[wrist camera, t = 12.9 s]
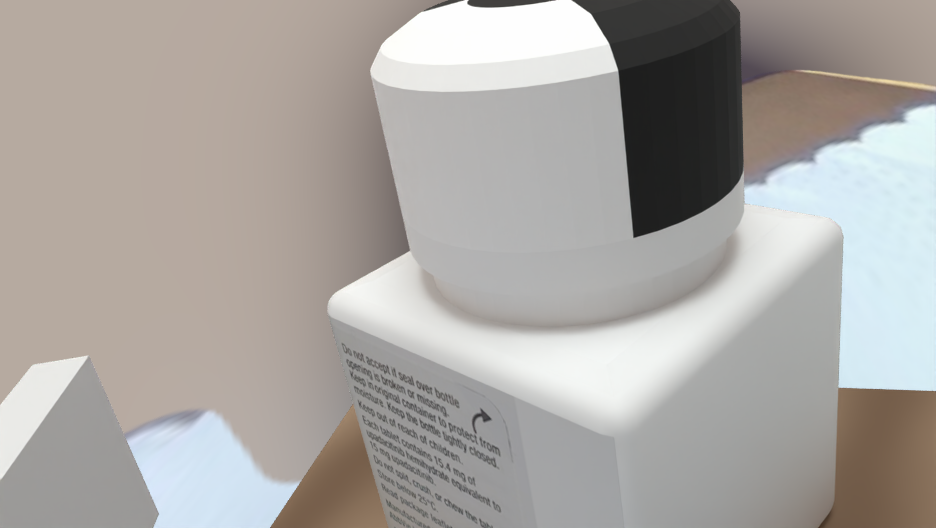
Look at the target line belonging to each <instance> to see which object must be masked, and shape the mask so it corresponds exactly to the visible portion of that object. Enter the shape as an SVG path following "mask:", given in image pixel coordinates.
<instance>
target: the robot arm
mask: <svg viewBox="0 0 936 528" xmlns="http://www.w3.org/2000/svg"><path fill="white" fill-rule="evenodd" d="M158 515H159V513H158V511H157V508H156V506H155V504H154V502H153V499H152V497H151V495H150V492H149V490H148V488H147V486H146V483H145V481H144V479H143V477H142V474H141V472H140V470H139V468H138V465H137V463H136V461H135V458H134V456H133V454H132V452H131V449H130V447H129V445H128V443H127V440H126V438H125V436H124V434H123V431H122V429H121V427H120V425H119V422H118V420H117V418H116V415H115V413H114V411H113V409H112V407H111V404H110V402H109V400H108V397H107V395H106V393H105V391H104V388H103V386H102V384H101V381H100V379H99V377H98V375H97V373H96V370H95V368H94V366H93V363H92V361H91V359H90V357H89V356H83V357H77V358H71V359H65V360H59V361H53V362H47V363H42V364H35V365H32V367H31V368H30V369H29V370H28V371H27V373H26V374H25V375H24V376H23V378H22V379H21V380H20V381H19V383H18V384H17V385H16V386H15V388H14V389H13V390H12V391H11V393H10V394H9V395H8V396H7V397H6V399H5V400H4V401H3V403H2V404H1V405H0V528H153V527H154V524H155V522H156V520H157V517H158Z"/></svg>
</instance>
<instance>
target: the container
mask: <svg viewBox="0 0 936 528" xmlns="http://www.w3.org/2000/svg"><path fill="white" fill-rule="evenodd" d="M740 38H741V37H740V12H739V10H738V9H737V7H736V6H735V5H734V4H733V3H732V2H731V1H730V0H448V1H445V2H443V3H440V4H437V5H435V6H433V7H431V8H428V9H426V10H424V11H423V12H421V13H420V14H418V15H417V16H416V17H414V18H413V19H412V20H410V21H409V22H408V23H407V24H405V25H404V26H403V27H402V28H401V29H399V30H398V31H397V32H395V33H394V34H393V35H392V36H390V37H389V38H388V39H387V40H386V41H385V42H384V43H383V44H382V45H381V48H380V50H379V52H378V54H377V56H376V58H375V60H374V62H373V64H372V67H371V71H370V73H371V78H372V82H373V87H374V91H375V96H376V100H377V105H378V109H379V113H380V118H381V122H382V126H383V131H384V136H385V140H386V144H387V149H388V154H389V158H390V162H391V167H392V171H393V176H394V180H395V185H396V189H397V193H398V198H399V203H400V207H401V212H402V216H403V220H404V225H405V229H406V233H407V238H408V243H409V247H410V250H411V251H409V252H407V253H406V254H404V255H402V256H400V257H399V258H397V259H395V260H393V261H391V262H389V263H388V264H386V265H384V266H382V267H380V268H379V269H377V270H375V271H373V272H371V273H370V274H368V275H366V276H364V277H362V278H361V279H359V280H357V281H355V282H353V283H352V284H350V285H348V286H346V287H344V288H343V289H341V290H339V291H337V292H336V293H335V294H334V295H333V296H332V297H331V299H330V300H329V302H328V317H329V320H330V324H331V327H332V331H333V334H334V338H335V341H336V345H337V348H338V352H339V355H340V359H341V362H342V366H343V369H344V373H345V377H346V380H347V384H348V387H349V391H350V394H351V397H352V401H353V405H354V408H355V412H356V415H357V419H358V422H359V426H360V429H361V433H362V436H363V440H364V443H365V447H366V450H367V454H368V457H369V461H370V465H371V468H372V472H373V475H374V479H375V482H376V486H377V489H378V493H379V496H380V500H381V503H382V507H383V510H384V514H385V517H386V521H387V524H388V528H818V527H819V526H820V524H821V523H822V522H823V520H824V519H825V518H826V516H827V515H828V514H829V512H830V511H831V509H832V507H833V503H834V498H835V468H836V439H837V410H838V381H839V351H840V322H841V293H842V264H843V233H842V230H841V227H840V226H839V225H838V224H837V223H836V222H834V221H833V220H832V219H830V218H827V217H821V216H815V215H809V214H803V213H798V212H792V211H786V210H780V209H774V208H768V207H762V206H756V205H750V204H744V163H743V121H742V79H741V39H740Z"/></svg>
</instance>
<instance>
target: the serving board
mask: <svg viewBox="0 0 936 528" xmlns="http://www.w3.org/2000/svg"><path fill="white" fill-rule="evenodd" d="M270 528H388V524H387V521H386V517H385V514H384V510H383V507H382V503H381V500H380V496H379V493H378V489H377V486H376V482H375V479H374V475H373V472H372V468H371V465H370V461H369V457H368V454H367V450H366V447H365V443H364V440H363V436H362V433H361V429H360V426H359V422H358V419H357V415H356V412H355V408H354V405H352V406H351V408H350V409H349V411H348V412H347V414H346V415H345V417H344V418H343V420H342V421H341V423H340V424H339V426H338V427H337V429H336V430H335V432H334V433H333V435H332V436H331V438H330V439H329V441H328V442H327V444H326V445H325V447H324V448H323V450H322V451H321V453H320V454H319V456H318V457H317V459H316V460H315V461H314V463H313V465H312V466H311V467H310V469H309V470H308V472H307V474H306V475H305V476H304V478H303V479H302V481H301V482H300V484H299V485H298V487H297V488H296V490H295V491H294V493H293V494H292V496H291V497H290V499H289V500H288V502H287V503H286V505H285V506H284V508H283V509H282V511H281V512H280V514H279V515H278V517H277V518H276V520H275V521H274V523H273V524H272V526H271V527H270ZM818 528H936V391H915V390H886V389H857V388H838V410H837V439H836V468H835V498H834V503H833V507H832V509H831V511H830V512H829V514H828V515H827V516H826V518H825V519H824V520H823V522H822V523H821V524H820V526H819V527H818Z"/></svg>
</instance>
